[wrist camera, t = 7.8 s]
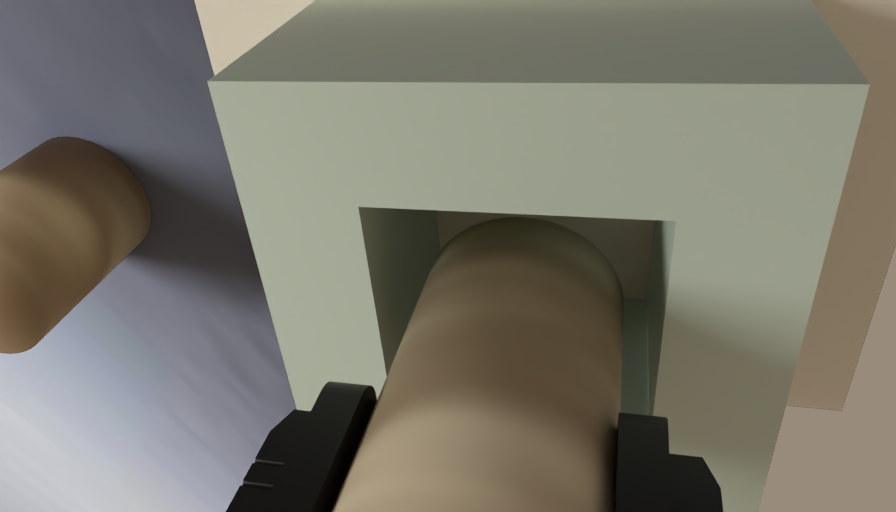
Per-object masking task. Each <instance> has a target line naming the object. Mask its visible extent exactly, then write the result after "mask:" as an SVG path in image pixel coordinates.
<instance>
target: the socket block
mask: <svg viewBox="0 0 896 512" xmlns="http://www.w3.org/2000/svg"><path fill="white" fill-rule="evenodd" d="M195 4H196V8H197V12H198V15H199V19H200V23H201V27H202V30H203V34H204V38H205V42H206V45H207V49H208V53H209V57H210V61H211V64H212V68H213V72H214V77H212V78H211V79H210V80H208V81H207V82H208V86H209V90H210V93H211V97H212V100H213V104H214V108H215V111H216V115H217V119H218V122H219V126H220V130H221V133H222V137H223V141H224V144H225V148H226V152H227V155H228V159H229V163H230V166H231V170H232V174H233V177H234V181H235V185H236V188H237V192H238V196H239V199H240V203H241V207H242V210H243V214H244V218H245V221H246V225H247V229H248V232H249V236H250V239H251V243H252V247H253V250H254V254H255V258H256V261H257V265H258V269H259V272H260V276H261V280H262V283H263V287H264V291H265V294H266V298H267V302H268V305H269V309H270V313H271V316H272V320H273V324H274V327H275V331H276V335H277V338H278V342H279V346H280V349H281V353H282V357H283V360H284V364H285V368H286V371H287V375H288V379H289V382H290V386H291V389H292V393H293V397H294V400H295V404H296V408H297V410H304V411H311V410H312V408H313V406H314V404H315V402H316V400H317V398H318V396H319V394H320V392H321V390H322V388H323V387H324V385H325V384H326V383H327V382H329V381H332V382H342V383H351V384H361V385H370V386H373V388H374V389H375V392H376V397H377V399H378V397H379V394H380V392H381V390H382V387H383V385H384V382H385V380H386V377H387V375H388V373H389V370H390V368H391V365H392V363H393V360H394V358H395V356H396V353H397V351H398V348H399V346H400V343H401V341H402V339H403V336H404V334H405V331H406V329H407V326H408V324H409V322H410V319H411V317H412V314H413V312H414V309H415V307H416V305H417V302H418V300H419V297H420V295H421V292H422V290H423V288H424V285H425V283H426V280H427V278H428V275H429V273H430V271H431V268H432V266H433V263H434V261H435V259H436V257H437V255H438V254H439V253H440V251H441V250H442V248H443V247H444V246H445V245H446V244H447V243H448V242H449V241H450V240H451V239H452V238H453V237H455V236H456V235H457V234H459V233H460V232H462V231H463V230H465V229H467V228H469V227H471V226H473V225H476V224H478V223H481V222H484V221H488V220H492V219H497V218H505V217H527V218H536V219H540V220H545V221H549V222H552V223H555V224H558V225H561V226H564V227H566V228H568V229H570V230H572V231H574V232H576V233H578V234H579V235H581V236H583V237H584V238H586V239H587V240H588V241H590V242H591V243H592V244H593V245H595V246H596V247H597V248H598V249H599V250H600V251H601V252H602V253H603V254H604V255H605V256H606V258H607V259H608V261H609V262H610V263H611V265H612V266H613V268H614V270H615V272H616V274H617V275H618V278H619V281H620V284H621V286H622V292H623V297H624V313H623V346H622V378H621V411H620V412H621V413H631V414H640V415H650V416H659V417H667V420H668V433H669V453H670V454H678V455H687V456H696V457H703V459H704V461H705V462H706V464H707V466H708V467H709V469H710V471H711V472H712V474H713V476H714V477H715V479H716V481H717V483H718V484H719V486H720V488H721V495H722V504H723V512H758V509H759V506H760V502H761V498H762V494H763V490H764V486H765V483H766V479H767V475H768V471H769V468H770V464H771V460H772V456H773V452H774V449H775V444H776V441H777V437H778V433H779V430H780V426H781V422H782V418H783V414H784V410H785V406H797V407H806V408H817V409H828V410H837V411H842V408H843V405H844V402H845V399H846V396H847V393H848V390H849V387H850V383H851V381H852V377H853V374H854V371H855V368H856V365H857V362H858V359H859V356H860V353H861V350H862V346H863V344H864V340H865V337H866V334H867V331H868V328H869V325H870V322H871V319H872V316H873V313H874V310H875V307H876V304H877V301H878V297H879V294H880V291H881V288H882V285H883V282H884V279H885V276H886V273H887V270H888V267H889V264H890V261H891V258H892V255H893V251H894V248H895V245H896V0H195Z"/></svg>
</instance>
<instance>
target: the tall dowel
mask: <svg viewBox="0 0 896 512" xmlns="http://www.w3.org/2000/svg"><path fill="white" fill-rule="evenodd" d="M623 313H624V297H623V292H622V286H621V284H620V281H619V278H618V275H617V274H616V272H615V270H614V268H613V266H612V265H611V263H610V262H609V261H608V259H607V258H606V256H605V255H604V254H603V253H602V252H601V251H600V250H599V249H598V248H597V247H596V246H595V245H593V244H592V243H591V242H590V241H588V240H587V239H586V238H584V237H583V236H581V235H579V234H578V233H576V232H574V231H572V230H570V229H568V228H566V227H564V226H561V225H558V224H555V223H552V222H549V221H545V220H540V219H536V218H527V217H505V218H497V219H492V220H488V221H484V222H481V223H478V224H476V225H473V226H471V227H469V228H467V229H465V230H463V231H462V232H460V233H459V234H457V235H456V236H455V237H453V238H452V239H451V240H450V241H449V242H448V243H447V244H446V245H445V246H444V247H443V248H442V250H441V251H440V253H439V254H438V255H437V257H436V259H435V261H434V263H433V266H432V268H431V271H430V273H429V275H428V278H427V280H426V283H425V285H424V288H423V290H422V292H421V295H420V297H419V300H418V302H417V305H416V307H415V309H414V312H413V314H412V317H411V319H410V322H409V324H408V326H407V329H406V331H405V334H404V336H403V339H402V341H401V343H400V346H399V348H398V351H397V353H396V356H395V358H394V360H393V363H392V365H391V368H390V370H389V373H388V375H387V377H386V380H385V382H384V385H383V387H382V390H381V392H380V394H379V397H378V399H377V402H376V404H375V407H374V409H373V411H372V414H371V416H370V419H369V421H368V424H367V426H366V428H365V431H364V433H363V436H362V438H361V441H360V443H359V445H358V448H357V450H356V453H355V455H354V458H353V460H352V462H351V465H350V467H349V470H348V472H347V475H346V477H345V479H344V482H343V484H342V487H341V489H340V492H339V494H338V496H337V499H336V501H335V504H334V506H333V509H332V511H331V512H614V502H615V474H616V445H617V424H618V414H619V412H620V411H621V378H622V346H623Z"/></svg>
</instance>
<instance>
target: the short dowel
mask: <svg viewBox="0 0 896 512" xmlns="http://www.w3.org/2000/svg"><path fill="white" fill-rule="evenodd" d="M150 225H151V209H150V204H149V201H148V198H147V196H146V193H145V191H144V189H143V187H142V186H141V184H140V182H139V181H138V179H137V178H136V176H135V175H134V174H133V173H132V172H131V170H130V169H129V168H128V167H127V166H126V165H125V164H124V163H123V162H122V161H121V160H119V159H118V158H117V157H116V156H115V155H113V154H112V153H110V152H109V151H107V150H106V149H104V148H102V147H100V146H99V145H96V144H94V143H92V142H89V141H86V140H83V139H79V138H75V137H57V138H52V139H50V140H47V141H45V142H44V143H42V144H41V145H39V146H38V147H36V148H35V149H33V150H32V151H30V152H28V153H27V154H25V155H24V156H22V157H21V158H19V159H18V160H16V161H15V162H13V163H11V164H10V165H8V166H7V167H5V168H4V169H2V170H1V171H0V353H8V354H12V353H20V352H24V351H27V350H29V349H31V348H32V347H34V346H35V345H36V344H37V343H38V342H39V341H40V340H41V339H42V338H43V337H44V336H45V335H46V334H47V333H48V332H49V331H50V330H51V329H53V328H54V327H55V326H56V325H57V324H58V323H59V322H60V321H61V320H62V319H63V318H64V317H65V316H66V315H67V314H68V313H69V312H70V311H71V310H72V309H73V308H74V307H75V306H76V305H77V304H78V303H79V302H80V301H81V300H82V299H83V298H84V297H85V296H86V295H87V294H88V293H89V292H90V291H91V290H93V289H94V288H95V287H96V286H97V285H98V284H99V283H100V282H101V281H102V280H103V279H104V278H105V277H106V276H107V275H108V274H109V273H110V272H111V271H112V270H113V269H114V268H115V267H116V266H117V265H118V264H119V263H120V262H121V261H122V260H123V259H124V258H125V257H126V256H127V255H128V254H129V253H130V252H131V251H132V250H134V249H135V248H136V247H137V246H138V245H139V244H140V243H141V242H142V241H143V239H144V238H145V237H146V235H147V234H148V232H149V229H150Z"/></svg>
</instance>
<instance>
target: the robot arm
mask: <svg viewBox="0 0 896 512" xmlns="http://www.w3.org/2000/svg"><path fill="white" fill-rule="evenodd" d="M376 402H377V397H376V392H375V389H374V388H373V386H370V385H361V384H351V383H342V382H332V381H329V382H327V383H326V384H325V385H324V387H323V388H322V390H321V392H320V394H319V396H318V398H317V400H316V402H315V404H314V406H313V408H312V410H311V411H304V410H295V409H294V410H293V411H292V412H291V413H290V414H289V415H288V416H287V417H286V418H284V419H283V420H282V421H281V422H280V423H279V424H278V425H277V426H276V427H274V428H273V429H272V430H271V431H270V433H269V434H268V436H267V438H266V440H265V442H264V443H263V445H262V447H261V449H260V451H259V453H258V454H257V456H256V461H255V463H254V464H253V463H252V465H251V467H250V469H249V471H248V473H247V474H246V476H245V478H244V480H243V481H244V482H243V485H242V486H240V487H239V489H238V491H237V492H236V494H235V496H234V498H233V500H232V502H231V503H230V505H229V507H228V509H227V511H226V512H331V511H332V509H333V506H334V504H335V501H336V499H337V496H338V494H339V492H340V489H341V487H342V484H343V482H344V479H345V477H346V475H347V472H348V470H349V467H350V465H351V462H352V460H353V458H354V455H355V453H356V450H357V448H358V445H359V443H360V441H361V438H362V436H363V433H364V431H365V428H366V426H367V424H368V421H369V419H370V416H371V414H372V411H373V409H374V407H375V404H376ZM614 512H723V504H722V495H721V488H720V486H719V484H718V483H717V481H716V479H715V477H714V476H713V474H712V472H711V471H710V469H709V467H708V466H707V464H706V462H705V461H704V459H703V457H696V456H687V455H678V454H670V453H669V433H668V420H667V417H659V416H650V415H640V414H631V413H621V412H619V414H618V424H617V445H616V474H615V502H614Z"/></svg>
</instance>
